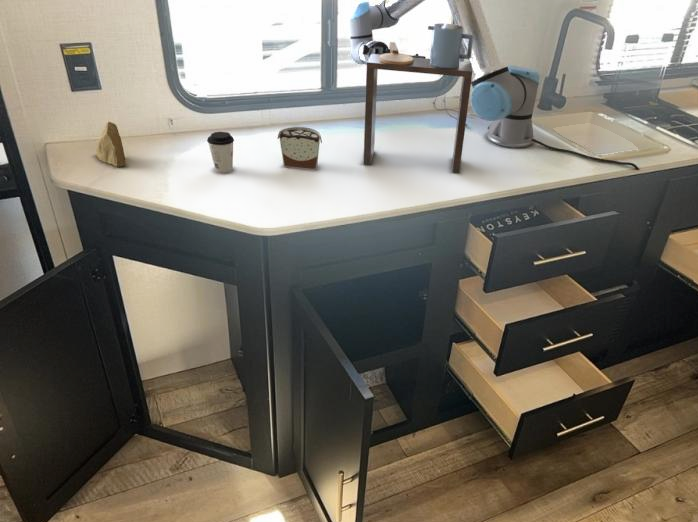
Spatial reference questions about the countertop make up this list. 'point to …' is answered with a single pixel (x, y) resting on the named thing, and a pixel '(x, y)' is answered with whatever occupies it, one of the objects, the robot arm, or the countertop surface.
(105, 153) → the rock
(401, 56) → the lid
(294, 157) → the food container
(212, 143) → the coffee cup
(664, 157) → the countertop surface
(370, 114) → the riser
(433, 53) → the jug
